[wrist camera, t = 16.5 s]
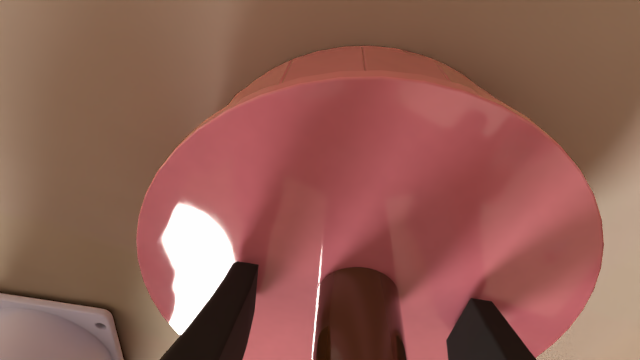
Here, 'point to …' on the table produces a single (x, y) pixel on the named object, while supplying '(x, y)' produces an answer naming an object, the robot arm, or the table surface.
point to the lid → (372, 218)
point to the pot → (357, 66)
